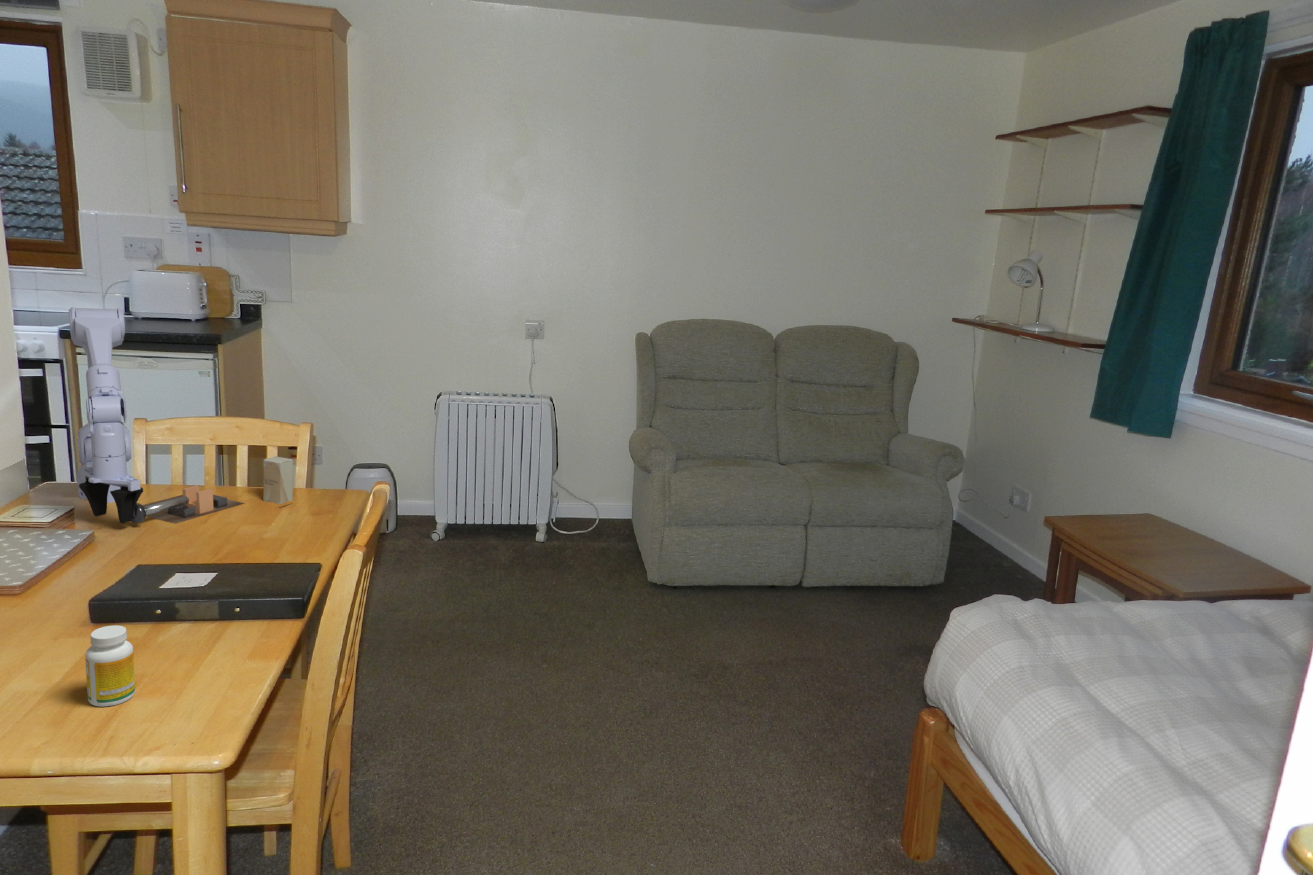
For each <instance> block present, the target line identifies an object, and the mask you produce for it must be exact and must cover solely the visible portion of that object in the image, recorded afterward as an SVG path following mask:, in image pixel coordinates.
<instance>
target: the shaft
mask: <svg viewBox="0 0 1313 875" xmlns="http://www.w3.org/2000/svg"><path fill="white" fill-rule="evenodd" d="M188 503H189V499H188V497H187V496H183V497H180V498H176V499H172V500H168V501H164V502H160V503H157V504H153V505H149V506H145V507H143V506H142V505H143V504H141V503H139V502H137V503H136V506H135V509H134V513H133V518H132V521H130V522H131V523H133V524H139V523H142V522H144V521H145V520H146V518H147V517H146V515H149V514H152V513H156V512H160V511H163V510H167V509H171V508H174V507H178V506H182V505H185V504H188Z"/></svg>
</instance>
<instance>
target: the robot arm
mask: <svg viewBox="0 0 1313 875" xmlns="http://www.w3.org/2000/svg"><path fill="white" fill-rule="evenodd" d="M68 319H69V333H70V338H71V341H72V344H73V345H75V346H78V347H81V348H83V351H84V352H85V355H86V358H87V360H86V361H87V370H86V372H85V379H86V389H87V398H86V400H85V406H86V408H85V409H86V419H87V423H86V424H85V425H83V426H82V427H80V428H79V429H78V431H77V449H78V451H77V452H78V462H79V463H80V464H81V465H80V467H79V468H78V470H77V471H76V472H77V473H76V481H77V493H78V494H77V497H78V498H80V499H83V500H86V501H88V503H89V505H90V508H91V511H92V513H93V516H94V517H100V516H105V515H107V510H108V504H110V503H115V506H116V510H117V516H118V520H119V524H120V523H121V524H126V523H129V522H131V521H132V518H133V513H134V509H135V506H136V503H138V501H139V499H140V497H141V495H142V494H143V492H144V488H143V487H141V480H140V479H137V478H135V477H134V476H132V475H131V474H129V473H128V471H127V470H128V468H127V462H130V460H131V459H132V446H131V445H132V444H131V438H130V437H131V436H130V431H129V429H128V427H127V426H126V425H125V424H126V423H127V422H126V421H127V405H126V399H125V395H124V393H123V392H124V391H123V390H122V387H121V386H122V385H121V378H120V372H119V370H118V369H117V368H116V367H115V366H113V364H112V363H113V362H112V361H113V357H112V356H113V355H112V354H113V348H116V347H118V346H121V345H123V342H124V338H125V335H126V328H125V327H126V324H125V313H124V310H122V309H121V308H119V307H118V308H88V307H86V308H85V307H84V308H83V307H74V306H72V307H70V308H69V309H68ZM122 418H123V422H122Z"/></svg>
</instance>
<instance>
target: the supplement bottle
mask: <svg viewBox="0 0 1313 875" xmlns="http://www.w3.org/2000/svg"><path fill="white" fill-rule="evenodd" d="M127 633H128V632H127V628H126V627H125V626H123V625H116V624H115V625H105V626H102V627H100V628H96V629H94V630H93V631H92V632H90V645H91V646H90V647H89V648H87V649H86V651H85V656H84V657H85V658H84V660H85V672H86V674H85V675H86V690H87V693H86V694H87V701H88V702H89V704H90V705H92V706H93V707H102V708H103V707H104V708H105V707H112V706H118V705H121V704H123V703H126V702H127V701H129V700H130V699H131V698H132V697H133V696H134V695H135V693H136V681H135V661H134V659H135V658H134V657H135V656H134V647H133V644H132V643H131V642H130V641H128V640H127V638H128V634H127Z"/></svg>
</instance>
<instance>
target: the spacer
mask: <svg viewBox="0 0 1313 875" xmlns="http://www.w3.org/2000/svg"><path fill="white" fill-rule="evenodd" d="M182 495H183V496H187V497H188V499H189V503H188V504H185V505H189V506H193V507H195V513H199V514H201V513H204V512H208V511H211V510H213V495H214V489H212V488H207V489H203V490H200V486H199V485H193V486H189V487H185V488H182Z"/></svg>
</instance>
